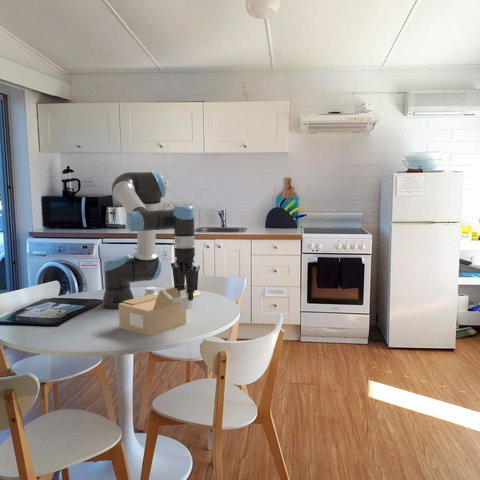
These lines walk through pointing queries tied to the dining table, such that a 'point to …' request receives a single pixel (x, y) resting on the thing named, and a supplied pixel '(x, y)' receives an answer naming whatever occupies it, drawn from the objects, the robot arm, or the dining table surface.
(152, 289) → the pill bottle
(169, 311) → the carton
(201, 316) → the dining table surface
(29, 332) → the dining table surface
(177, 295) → the flap
